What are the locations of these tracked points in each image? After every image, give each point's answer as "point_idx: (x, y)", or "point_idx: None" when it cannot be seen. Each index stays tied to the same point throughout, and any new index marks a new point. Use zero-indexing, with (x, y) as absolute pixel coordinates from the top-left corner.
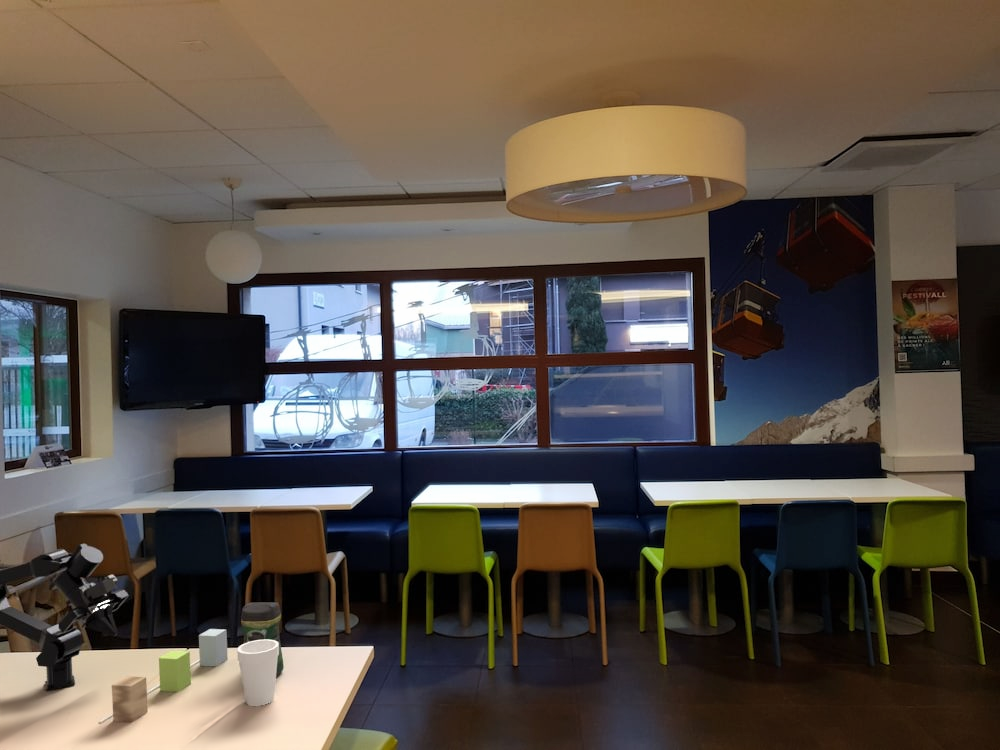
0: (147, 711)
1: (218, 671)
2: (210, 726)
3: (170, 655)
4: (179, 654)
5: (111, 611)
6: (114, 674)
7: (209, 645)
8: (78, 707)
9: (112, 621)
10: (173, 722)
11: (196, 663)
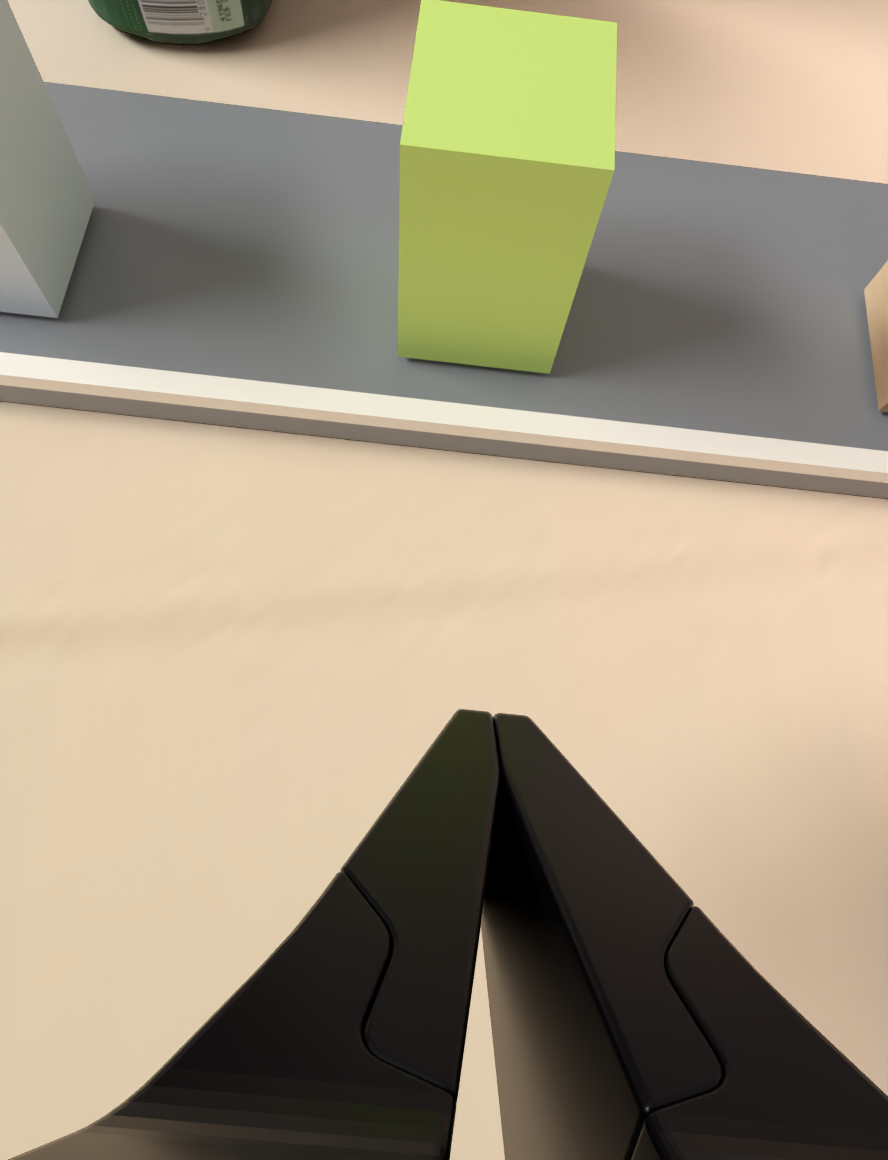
0: (866, 287)
1: None
2: (846, 3)
3: (537, 102)
4: (502, 44)
5: (112, 1144)
6: (79, 1111)
7: (6, 93)
8: (825, 923)
9: (416, 867)
10: (855, 165)
11: (13, 357)
